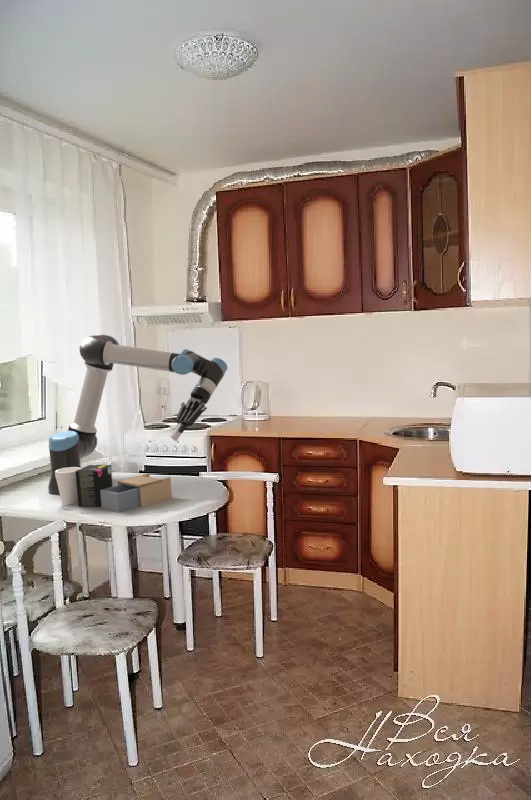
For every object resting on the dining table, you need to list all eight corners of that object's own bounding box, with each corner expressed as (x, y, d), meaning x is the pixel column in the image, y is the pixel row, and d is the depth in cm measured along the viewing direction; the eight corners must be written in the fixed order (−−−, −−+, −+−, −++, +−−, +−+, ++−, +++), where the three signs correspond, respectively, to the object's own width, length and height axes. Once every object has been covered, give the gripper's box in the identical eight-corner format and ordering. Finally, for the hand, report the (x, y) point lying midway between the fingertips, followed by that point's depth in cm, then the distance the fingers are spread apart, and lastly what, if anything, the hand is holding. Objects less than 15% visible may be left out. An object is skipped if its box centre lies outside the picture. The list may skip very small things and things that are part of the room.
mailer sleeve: (119, 505, 238) (117, 481, 237) (149, 496, 248) (148, 473, 247) (142, 510, 229) (140, 485, 228) (172, 501, 240) (170, 477, 239)
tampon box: (101, 511, 231) (98, 470, 230) (77, 510, 233) (74, 470, 232) (114, 502, 242) (111, 464, 240) (91, 502, 244) (88, 464, 242)
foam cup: (54, 507, 239) (51, 473, 237) (63, 500, 248) (60, 467, 247) (79, 506, 238) (76, 472, 237) (87, 500, 248) (84, 466, 246)
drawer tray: (101, 509, 230) (100, 489, 229) (150, 495, 247) (148, 477, 246) (119, 513, 223) (118, 493, 222) (168, 498, 240) (167, 480, 239)
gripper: (219, 398, 258) (190, 446, 248) (196, 396, 267) (168, 442, 256) (209, 386, 254) (179, 434, 243) (186, 385, 262) (156, 431, 252)
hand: (173, 438), depth 250 cm, fingers closed
